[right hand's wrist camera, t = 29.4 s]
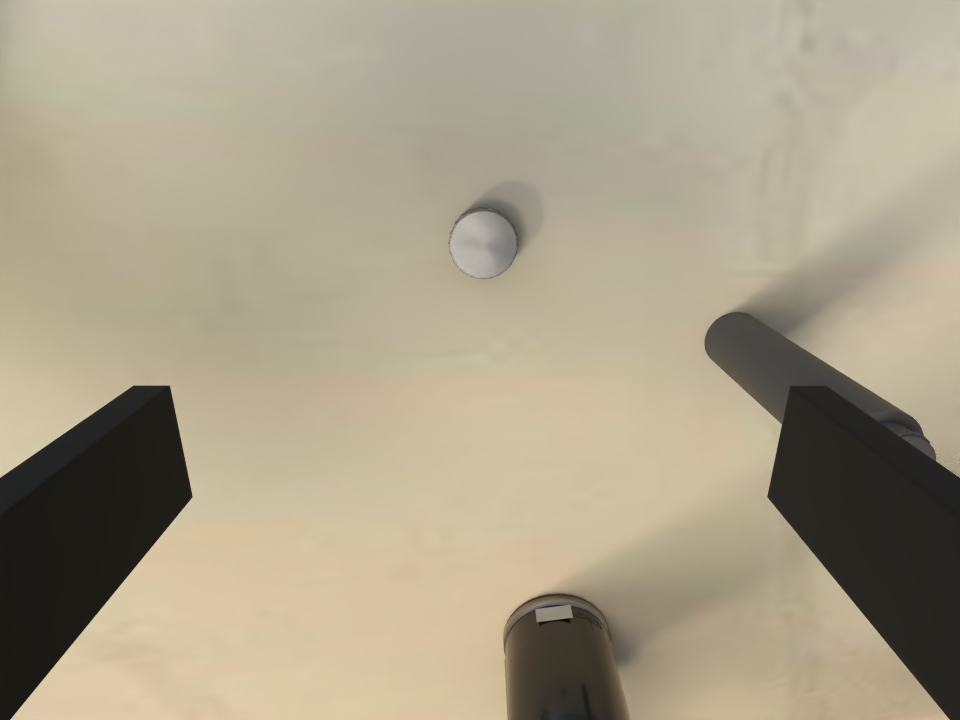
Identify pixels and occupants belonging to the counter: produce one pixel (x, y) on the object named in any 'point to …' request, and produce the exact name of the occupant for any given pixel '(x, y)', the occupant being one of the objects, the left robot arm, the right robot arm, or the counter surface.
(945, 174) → the counter surface
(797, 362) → the dark gray cylinder
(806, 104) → the counter surface
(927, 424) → the counter surface
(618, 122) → the counter surface
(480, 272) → the lid
